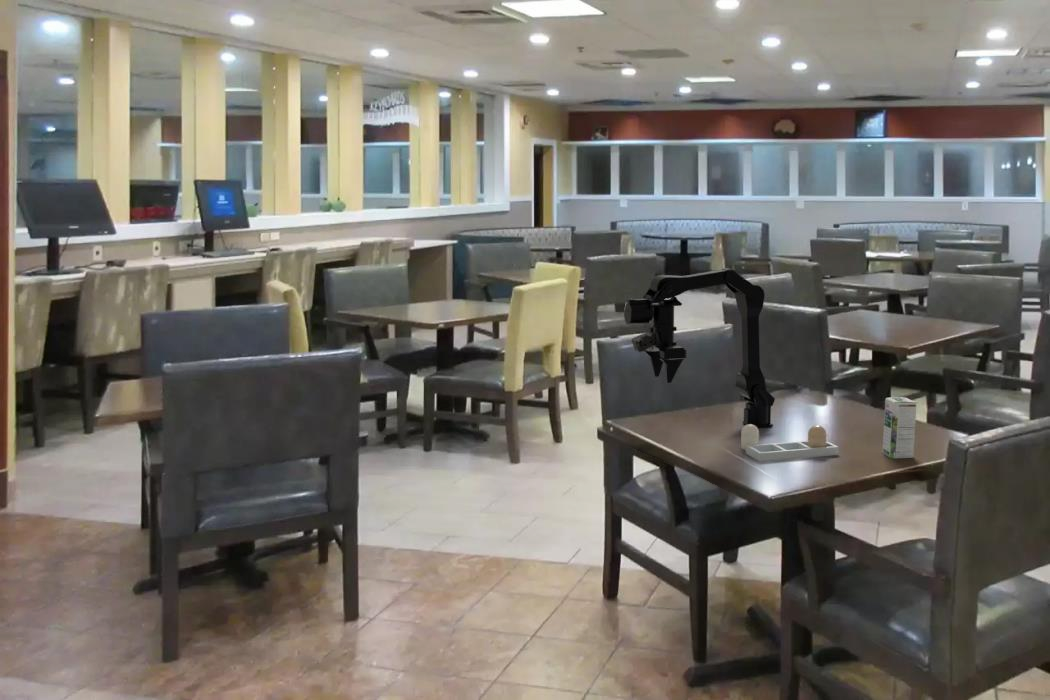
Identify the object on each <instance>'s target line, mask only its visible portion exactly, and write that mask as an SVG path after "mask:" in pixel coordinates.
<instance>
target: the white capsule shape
mask: <svg viewBox="0 0 1050 700" xmlns="http://www.w3.org/2000/svg"><path fill="white" fill-rule="evenodd" d="M740 431H741V434H740V435H741V438H740V448H741V449H740V450H743V451H746V446H748V445H760V431H759V427H756V426H755V425H752V424H747V425H746V424H744V425H743V427H742V428H741V430H740Z"/></svg>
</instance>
